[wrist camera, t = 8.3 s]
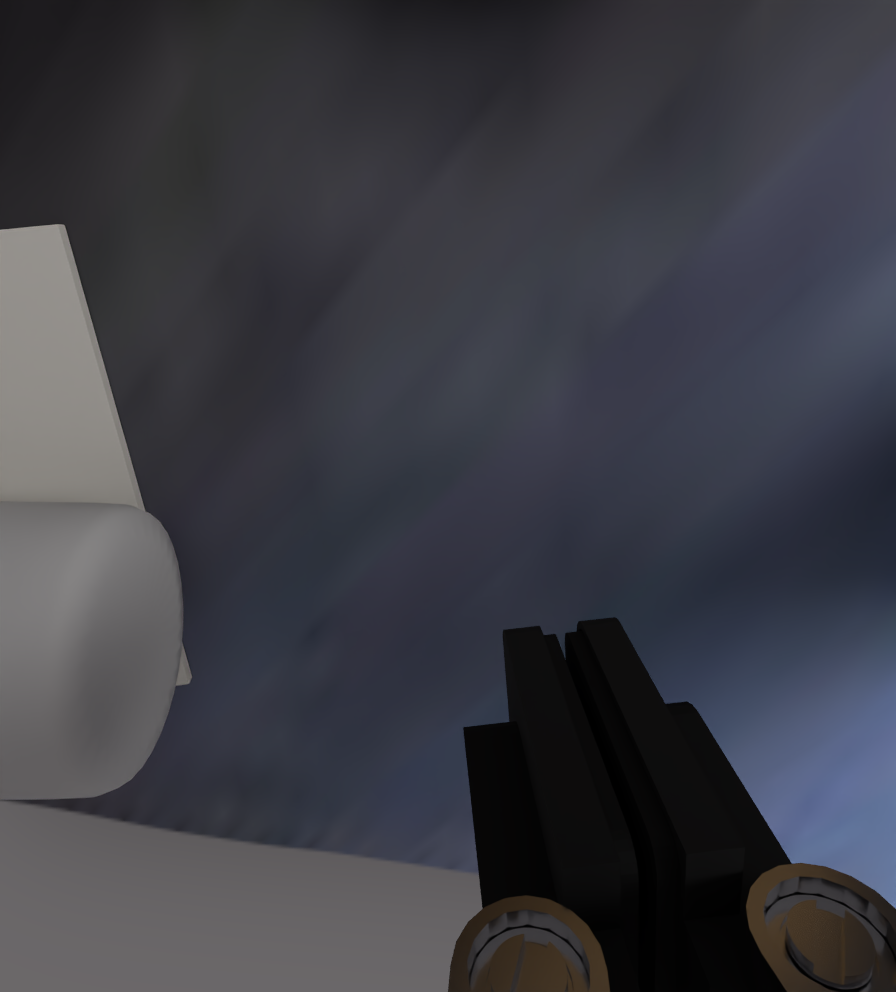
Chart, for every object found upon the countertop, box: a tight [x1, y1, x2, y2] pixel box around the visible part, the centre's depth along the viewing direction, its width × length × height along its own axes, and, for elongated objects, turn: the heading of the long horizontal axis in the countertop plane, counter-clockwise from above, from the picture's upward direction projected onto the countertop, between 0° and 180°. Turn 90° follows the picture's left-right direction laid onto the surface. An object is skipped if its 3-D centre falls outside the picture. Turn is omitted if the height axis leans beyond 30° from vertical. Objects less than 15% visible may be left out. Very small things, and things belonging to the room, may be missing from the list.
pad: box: [0, 224, 192, 686], centre depth 20 cm, size 8×15×1 cm, turn 6°
